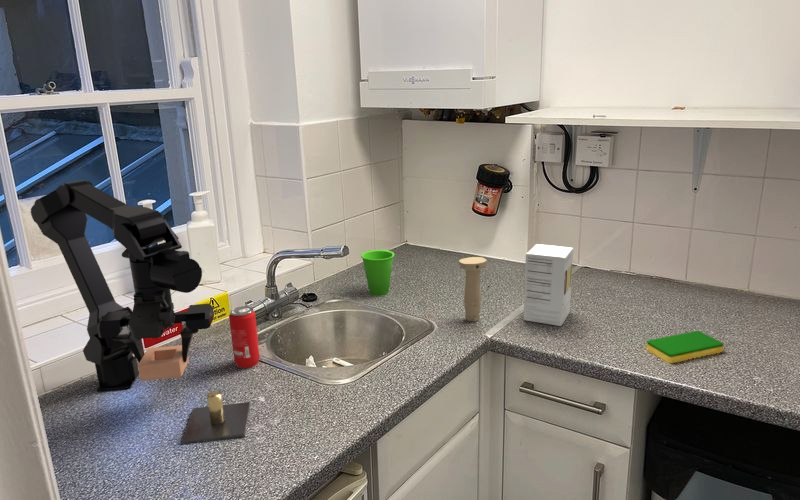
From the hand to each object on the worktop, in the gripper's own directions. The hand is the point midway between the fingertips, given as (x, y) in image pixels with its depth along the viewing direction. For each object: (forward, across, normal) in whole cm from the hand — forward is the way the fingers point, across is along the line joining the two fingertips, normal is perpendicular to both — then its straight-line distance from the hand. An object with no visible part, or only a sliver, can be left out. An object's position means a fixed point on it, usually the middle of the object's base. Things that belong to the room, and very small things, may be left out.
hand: (164, 363), depth 108 cm
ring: (+1, 0, 0) cm, 1 cm away
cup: (+8, +45, +48) cm, 66 cm away
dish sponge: (+9, +104, 0) cm, 104 cm away
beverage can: (+8, +13, +13) cm, 20 cm away
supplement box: (+9, +83, +23) cm, 86 cm away
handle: (+8, +65, +25) cm, 70 cm away
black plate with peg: (+8, +10, -9) cm, 16 cm away
